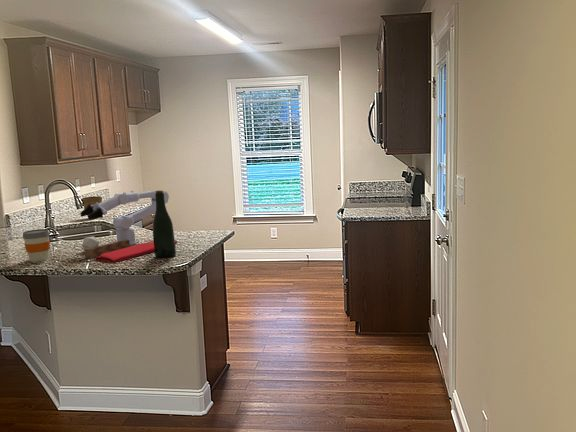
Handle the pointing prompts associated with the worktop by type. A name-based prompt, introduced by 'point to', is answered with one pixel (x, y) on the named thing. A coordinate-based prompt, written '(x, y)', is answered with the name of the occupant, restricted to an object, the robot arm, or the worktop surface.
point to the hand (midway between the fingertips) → (84, 216)
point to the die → (90, 243)
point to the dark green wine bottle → (163, 229)
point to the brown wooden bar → (106, 248)
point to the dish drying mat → (128, 252)
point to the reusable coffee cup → (37, 244)
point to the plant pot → (91, 201)
